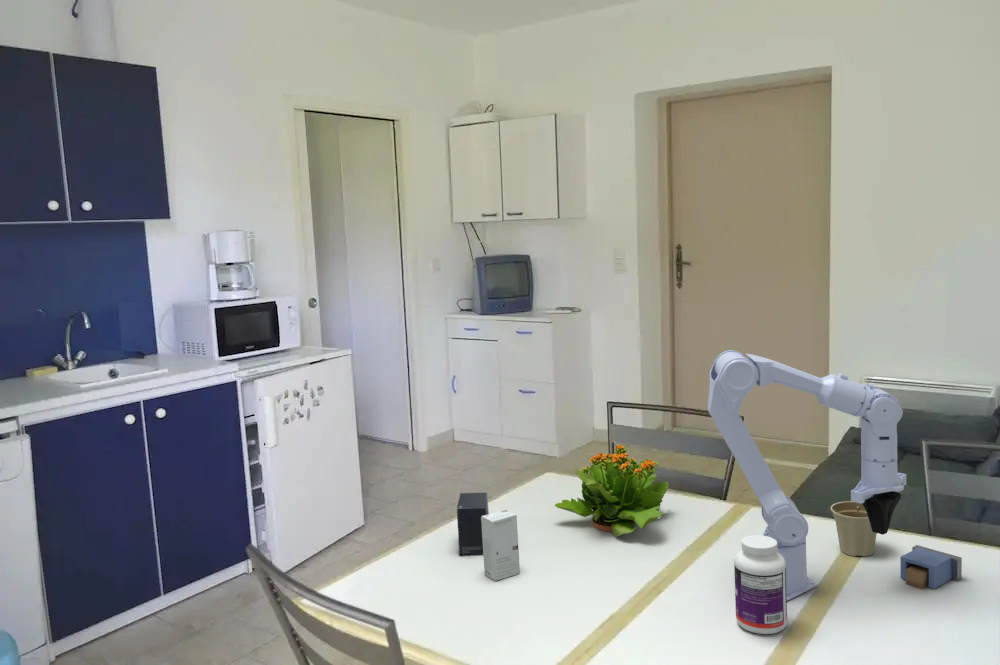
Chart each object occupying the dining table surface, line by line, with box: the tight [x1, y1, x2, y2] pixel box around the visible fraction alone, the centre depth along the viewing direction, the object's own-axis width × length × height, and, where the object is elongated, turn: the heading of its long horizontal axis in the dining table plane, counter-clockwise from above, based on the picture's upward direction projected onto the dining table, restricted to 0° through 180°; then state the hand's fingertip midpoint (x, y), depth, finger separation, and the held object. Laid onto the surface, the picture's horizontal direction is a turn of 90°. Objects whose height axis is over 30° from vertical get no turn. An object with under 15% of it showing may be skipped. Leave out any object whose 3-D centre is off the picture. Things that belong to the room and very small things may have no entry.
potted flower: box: [554, 444, 669, 538], centre depth 178 cm, size 25×24×18 cm
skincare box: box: [481, 509, 521, 582], centre depth 155 cm, size 6×4×12 cm
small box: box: [456, 492, 490, 556], centre depth 171 cm, size 11×6×10 cm, turn 179°
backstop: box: [911, 544, 963, 582], centre depth 144 cm, size 2×8×4 cm, turn 35°
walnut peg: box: [905, 564, 929, 590], centre depth 141 cm, size 6×3×3 cm, turn 125°
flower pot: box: [829, 500, 878, 558], centre depth 155 cm, size 9×9×9 cm
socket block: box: [899, 548, 951, 589], centre depth 142 cm, size 6×6×4 cm
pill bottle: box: [733, 534, 788, 635], centre depth 129 cm, size 8×8×14 cm
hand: (879, 532), depth 140 cm, fingers closed
